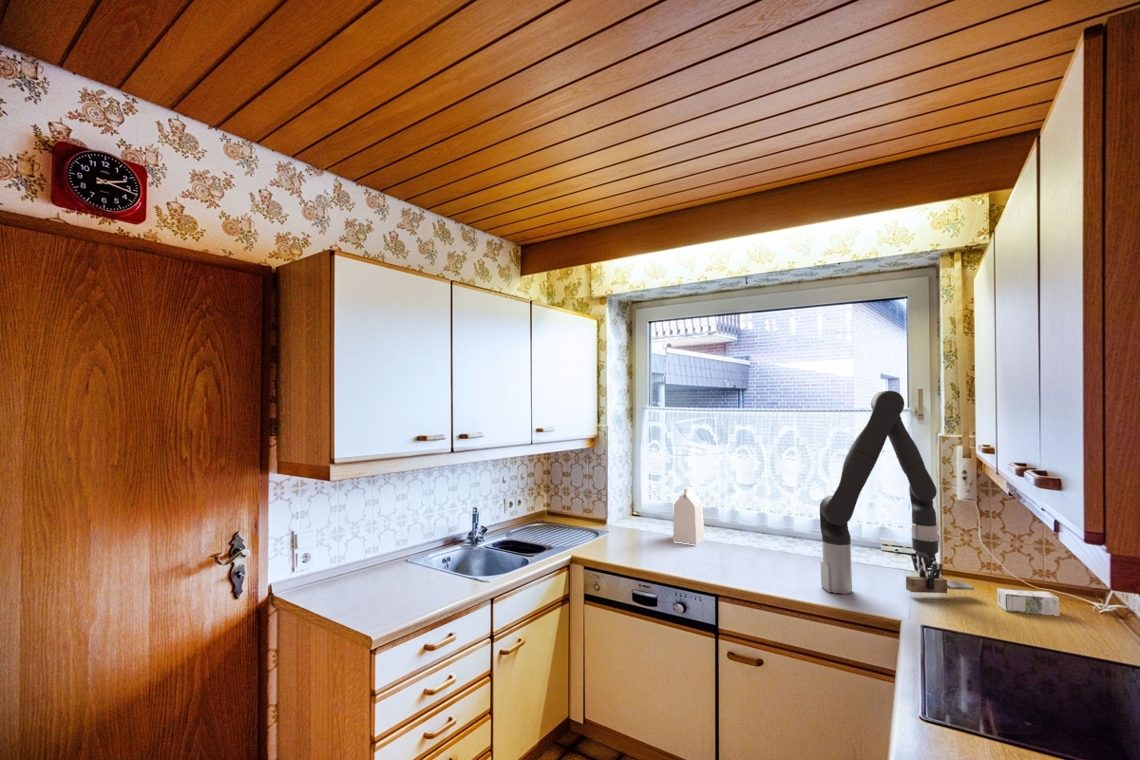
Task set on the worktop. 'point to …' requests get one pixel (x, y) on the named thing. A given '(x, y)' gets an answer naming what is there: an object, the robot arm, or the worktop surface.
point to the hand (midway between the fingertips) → (927, 587)
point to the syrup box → (1028, 601)
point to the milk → (688, 518)
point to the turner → (939, 585)
